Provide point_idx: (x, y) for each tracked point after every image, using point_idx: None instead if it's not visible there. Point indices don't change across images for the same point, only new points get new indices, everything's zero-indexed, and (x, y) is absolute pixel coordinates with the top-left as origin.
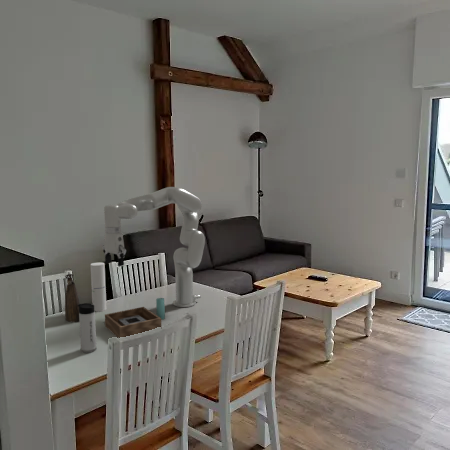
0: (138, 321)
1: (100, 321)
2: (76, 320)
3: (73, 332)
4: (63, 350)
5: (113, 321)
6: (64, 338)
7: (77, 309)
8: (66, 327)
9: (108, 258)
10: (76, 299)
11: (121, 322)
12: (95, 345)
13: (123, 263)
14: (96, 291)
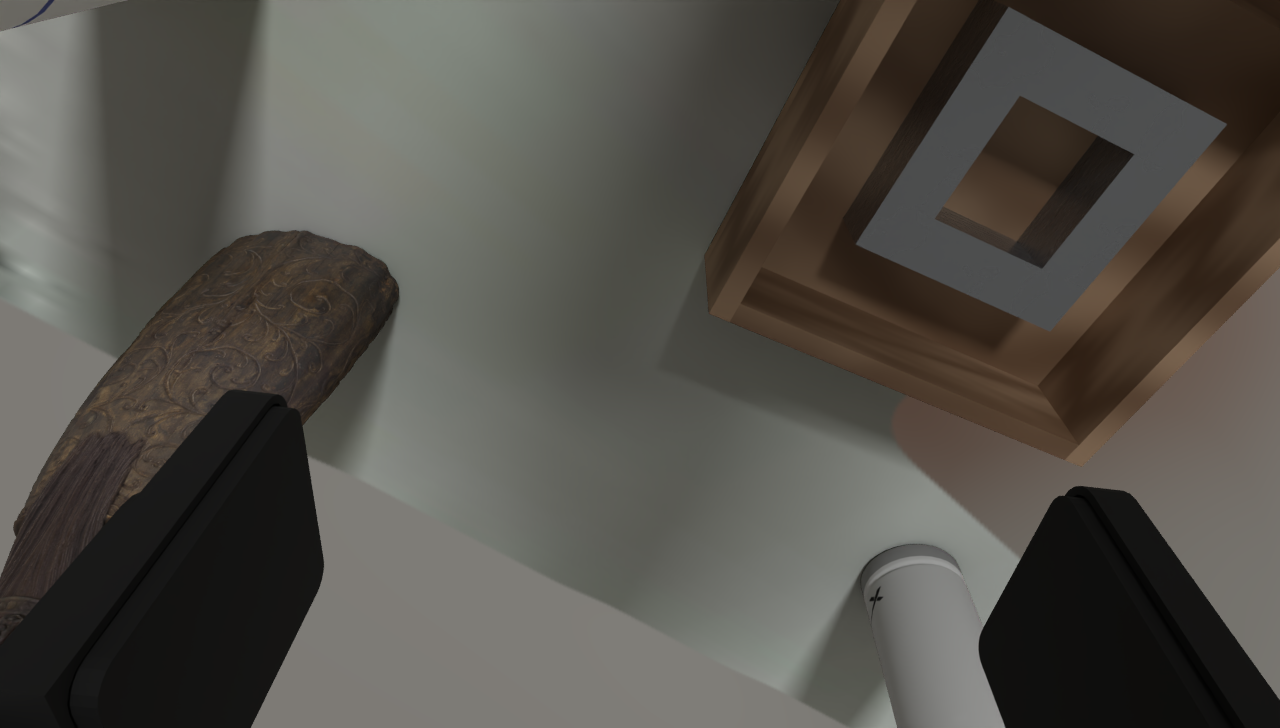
0: (1116, 181)
1: (556, 183)
2: (387, 318)
3: (575, 453)
4: (765, 630)
5: (930, 401)
6: (615, 537)
7: (350, 362)
8: (436, 417)
9: (224, 667)
10: None
11: (933, 277)
12: (969, 592)
13: (1154, 556)
14: (76, 5)
